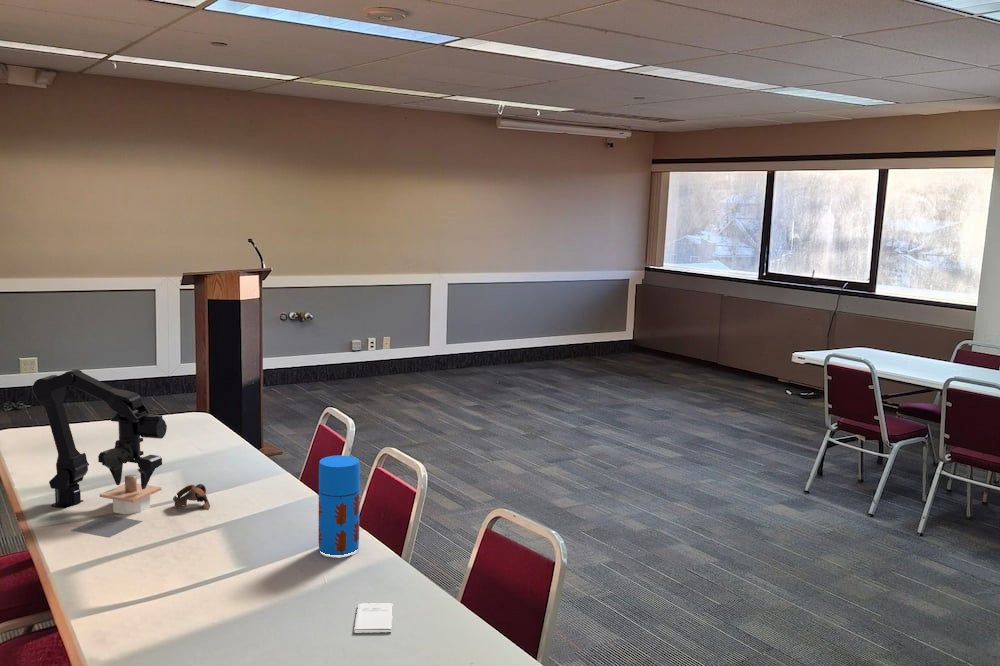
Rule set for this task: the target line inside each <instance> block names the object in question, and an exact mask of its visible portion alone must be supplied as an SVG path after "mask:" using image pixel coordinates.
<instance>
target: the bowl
mask: <svg viewBox="0 0 1000 666" xmlns="http://www.w3.org/2000/svg"><path fill="white" fill-rule="evenodd" d="M112 509H113V511H112V512H113V513H117V514H122V515H129V514H131V515H132V514H138V513H139V514H140V513H142V512H145V511H146V510H147V511H148V509H151V495H149V496H147V497H145V498H142V499H140V500H138V501H136V502H133V503H132V502H127V501H121V500H115V499H112Z"/></svg>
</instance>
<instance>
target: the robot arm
mask: <svg viewBox="0 0 1000 666" xmlns="http://www.w3.org/2000/svg"><path fill="white" fill-rule="evenodd" d="M68 386H72V387H73V388H76V389H78V390H80V391H82V392H85V393H86V394H88V395H90V396H92V397H94V398H96V399H98V400H101V401H103V402H104V403H105V404H106V405H107V406H108V407H109V409H111V410H112V411H113V412H115V415H114V416H113V417H112V418H111V419H110V421H111V422H116V423H118V440H115V443H114V444H115V445H114V447H113V448H110V449H107V450H104V451H103V450H102V451H101V452H99V454H98V456H97V459H98V461H97V462H98V463H101V465H102V466H105V467H106V468H107V469H109V471H110V473H111V475H112V478H113V481H114V483H115V485H116V486H121V482H122V475H123V466H124V465H123V464H127V463H133V464H137V466H138V469H137V472H138V473H139V474H140V484H141V487H142V489H145V488H146V486H147V485H149V482H150V479H151V477H152V475H153V473H154V472H155V470H156V469H158V468H159V467H161V466H163V458H162V457H161V456H160V455H156V454H155V455H154V454H149V455H146V456H143V455H144V451H143V450H141V442H142V443H143V442H144V438H145V439H146V438H147V439H159V440H160V439H163V438H165V435H166V434H167V429H168V425H167V423H166V420H164V419H163V415H162V414H157V415H154V414H151V412H150V410H149V409H148V407H147V406H146V405H145V403H144V402H143V400H142V397H141V395H140V394H139V393H138V392H137V393H136V392H134V391H130V390H127V389H119V388H116V387H113V386H111V385H109V384H107V383H105V382H102V381H100V380H98V379H97V378H94V377H92V376H90V375H88V374H86V373H84V372H83V371H82V370H80V369H76V368H75V369H72V370H68V371H65V372H64V373H61V374H59V375H57V374H52V375H48V376H45V377H42V378H38V379H37V380H35V381H34V382H33V384H32V388H31V389H32V392H33V394H34V396H35V399H36V400H37V402H38V403H39V404H40V405H41V406H42V407H44V409H45V413H46V416H47V419H48V423H49V426H50V430H51V433H52V437H53V440H54V444H55V447H56V450H57V458H56V464H55V469H56V474H55V475H54V476H53V477H52V478H51V479H50V480H49V481H48V483H49V485H50V486H49V487H50V488H51V489H52V490H54V496H55V497H54V498H55V499H54V500H55V502H53V503H51V505H52V506H51V507H55V506H58V507H57V508H62V509H67V508H71V507H73V506H76V505H78V504H81V503H83V502H85V500H84V499H82V497H81V489H80V484H79V483H80V482H82V481H83V480H84V477H85V476H86V475H87V474H88V471H89V466H90V464H89V462H88V459H87V454H86V453H85V452H83V453H81V452H79V450H78V449H77V448H76V444H75V441H74V436H73V433H72V431H71V426H70V423H69V419H68V416H67V412H66V409H65V405H64V402H65V397H66V387H68Z"/></svg>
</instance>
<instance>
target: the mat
mask: <svg viewBox="0 0 1000 666" xmlns="http://www.w3.org/2000/svg"><path fill="white" fill-rule="evenodd" d="M142 522H143V520H139V519H133V518H126V517H121V516H115V515H111V514H110V515H109V514H104V515H102V516H100V517H97V518H95V519H93V520H91V521H89V522H86V523H84V524H82V525H80V526H78V527H76V528H73V529H71V531H72V532H78V533H83V534H89V535H93V536H98V537H99V536H100V537H104V538H111V537H114V536H115V535H118V534H120V533H121V532H123V531H126V530H128V529H130V528H133V527H134V526H136V525H138V524H141V523H142Z"/></svg>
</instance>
